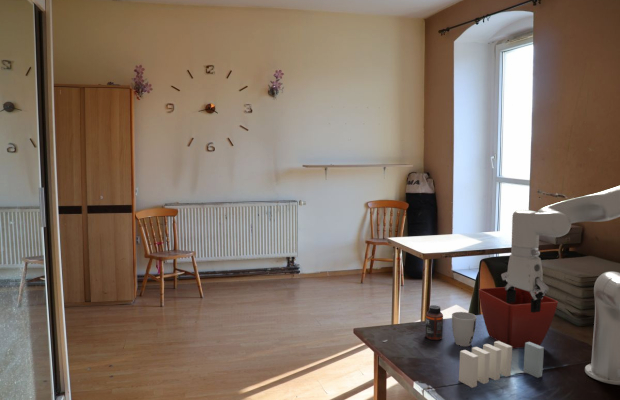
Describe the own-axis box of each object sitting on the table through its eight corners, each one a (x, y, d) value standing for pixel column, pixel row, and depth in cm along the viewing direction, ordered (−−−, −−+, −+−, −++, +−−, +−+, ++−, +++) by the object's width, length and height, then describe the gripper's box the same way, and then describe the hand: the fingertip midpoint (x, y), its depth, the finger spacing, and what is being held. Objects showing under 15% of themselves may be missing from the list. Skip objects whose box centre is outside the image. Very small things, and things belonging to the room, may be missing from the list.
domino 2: (488, 382, 148) (490, 352, 147) (483, 383, 147) (485, 354, 146) (475, 375, 152) (476, 346, 151) (470, 377, 151) (471, 347, 150)
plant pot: (556, 349, 173) (559, 301, 171) (507, 354, 168) (510, 304, 166) (520, 329, 191) (523, 285, 189) (475, 333, 187) (477, 288, 185)
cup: (476, 349, 172) (477, 320, 171) (451, 347, 174) (452, 318, 173) (473, 340, 180) (475, 312, 179) (449, 338, 182) (451, 311, 180)
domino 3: (499, 378, 150) (501, 349, 149) (495, 380, 149) (496, 350, 148) (486, 372, 155) (487, 343, 154) (481, 373, 154) (483, 344, 153)
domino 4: (510, 375, 153) (512, 346, 152) (506, 376, 152) (507, 347, 151) (497, 368, 157) (498, 340, 156) (492, 370, 156) (494, 341, 155)
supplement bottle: (444, 336, 183) (445, 306, 182) (439, 342, 178) (440, 310, 177) (428, 333, 186) (429, 303, 185) (422, 338, 181) (424, 307, 180)
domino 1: (476, 386, 146) (478, 355, 145) (471, 387, 145) (473, 357, 144) (463, 379, 150) (465, 349, 149) (458, 380, 149) (460, 351, 148)
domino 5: (542, 376, 152) (543, 347, 151) (537, 377, 151) (539, 348, 150) (527, 369, 157) (529, 341, 156) (523, 371, 156) (525, 342, 155)
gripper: (558, 256, 146) (555, 314, 148) (512, 245, 162) (511, 297, 164) (538, 258, 143) (536, 317, 145) (494, 247, 159) (492, 300, 161)
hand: (522, 307), depth 154 cm, fingers open, 9 cm apart
